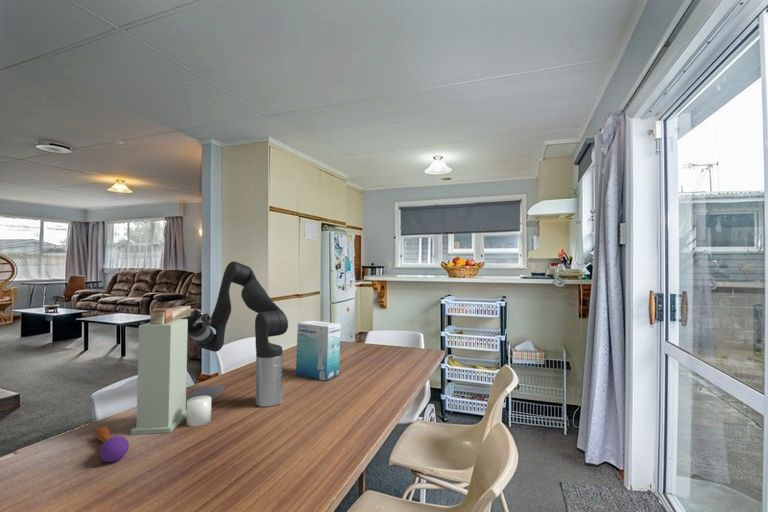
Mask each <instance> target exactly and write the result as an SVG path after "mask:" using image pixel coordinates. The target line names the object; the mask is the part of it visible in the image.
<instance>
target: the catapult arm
mask: <svg viewBox="0 0 768 512" xmlns="http://www.w3.org/2000/svg"><path fill="white" fill-rule="evenodd" d="M191 306H192V305H178V306H174V307H171V308H170V307H169V308H168V307H167V308H166V307H162V308H161V307H160V308H159V307H158V308H153V309H150V319H149V320H150V324H151V325H163V324H167V323H170V322H172V321H175V320H178V319H181V318H184V317H187V316H191V312H192V311H191V309H192V307H191Z"/></svg>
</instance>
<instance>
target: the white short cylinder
mask: <svg viewBox="0 0 768 512" xmlns="http://www.w3.org/2000/svg"><path fill="white" fill-rule="evenodd" d="M211 421H212V402H211V397H210V396H197V397H193V398H190V399H189V400H187V417H186V424H185V425H186V426H188V427H201V426H205V425H207V424H208V423H210V422H211Z"/></svg>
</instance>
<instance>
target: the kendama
mask: <svg viewBox="0 0 768 512" xmlns="http://www.w3.org/2000/svg"><path fill="white" fill-rule="evenodd" d="M94 438H95V439H97V440H98V441H100V442H103V443H102V445H101V447H100V448H99V457H100V458H101V460H102V461H103V462H105V463H114V462H117V461H120V460H121V459H122V458H123V457H124V456H125V455H126V454H127V452H128V450H129V448H130V445H129V444H130V443H129V440H128V439H127V438H126V437H125V436H122V435H114V436H112V437H111V434H110V430H109V428H108V427H107V426H101V427H99V428H97V430H95V432H94Z"/></svg>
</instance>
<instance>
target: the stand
mask: <svg viewBox="0 0 768 512" xmlns="http://www.w3.org/2000/svg"><path fill="white" fill-rule="evenodd" d="M187 331H188V319H178V320H175V321H172V322H170V323H167V324H163V325H151V324H150V322H147V323H143V324H139V325H138V347H137V349H138V351H137V352H138V353H137V354H138V356H137V389H136V390H137V392H136V395H137V397H136V426H135V427H133V428H132V429H130V435H144V434H145V435H146V434H165V433H168V434H169V433H172V431H174V429H176V428H177V427H178V425H179V424H181V423H182V422H183V421H184V420H185V419H187V410H186V397H187V375H188V374H187V369H188V334H187Z"/></svg>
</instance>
